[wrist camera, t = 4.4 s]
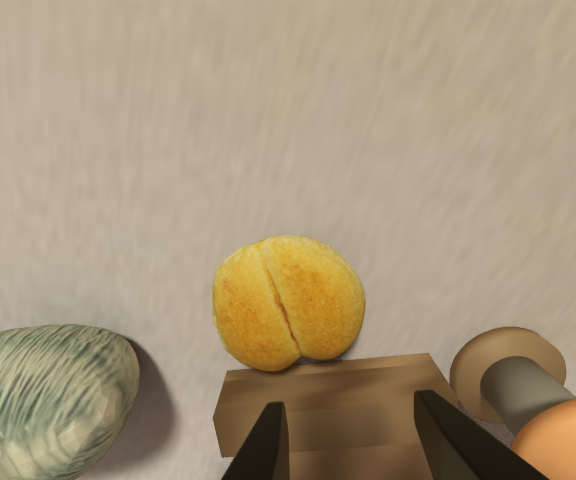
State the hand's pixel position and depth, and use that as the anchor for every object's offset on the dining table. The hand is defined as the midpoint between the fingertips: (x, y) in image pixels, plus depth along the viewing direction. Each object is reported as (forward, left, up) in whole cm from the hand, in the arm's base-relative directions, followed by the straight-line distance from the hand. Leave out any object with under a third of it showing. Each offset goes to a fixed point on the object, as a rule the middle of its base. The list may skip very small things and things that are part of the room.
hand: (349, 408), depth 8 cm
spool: (+20, +6, -12) cm, 24 cm away
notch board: (0, +17, -12) cm, 21 cm away
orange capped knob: (-12, +10, -12) cm, 20 cm away
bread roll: (0, 0, -12) cm, 12 cm away
